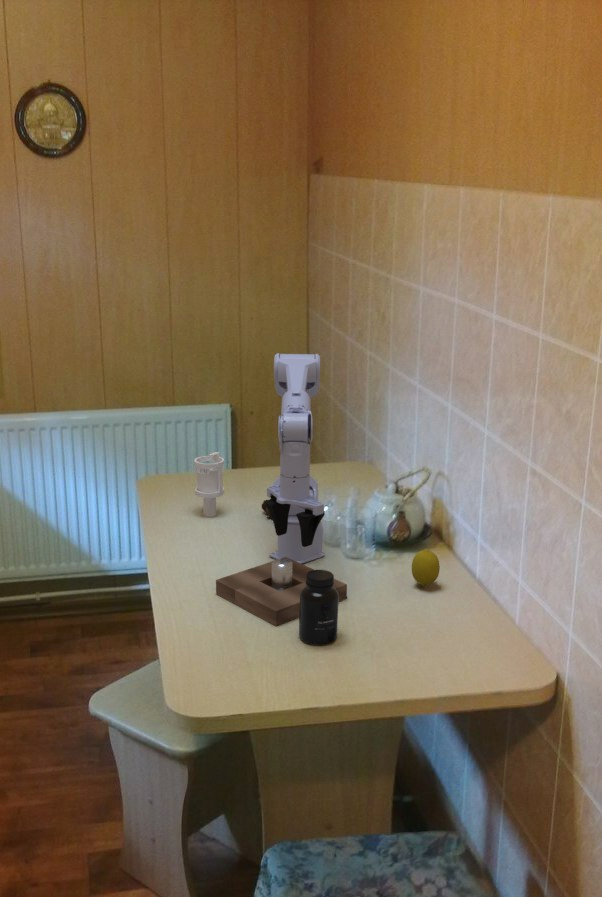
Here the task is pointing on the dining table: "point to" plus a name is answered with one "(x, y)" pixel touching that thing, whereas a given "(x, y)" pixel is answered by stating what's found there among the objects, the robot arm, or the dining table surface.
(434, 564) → the lemon
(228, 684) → the dining table surface
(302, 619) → the supplement bottle
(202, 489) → the strainer
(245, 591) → the dock block
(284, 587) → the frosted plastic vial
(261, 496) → the dining table surface
